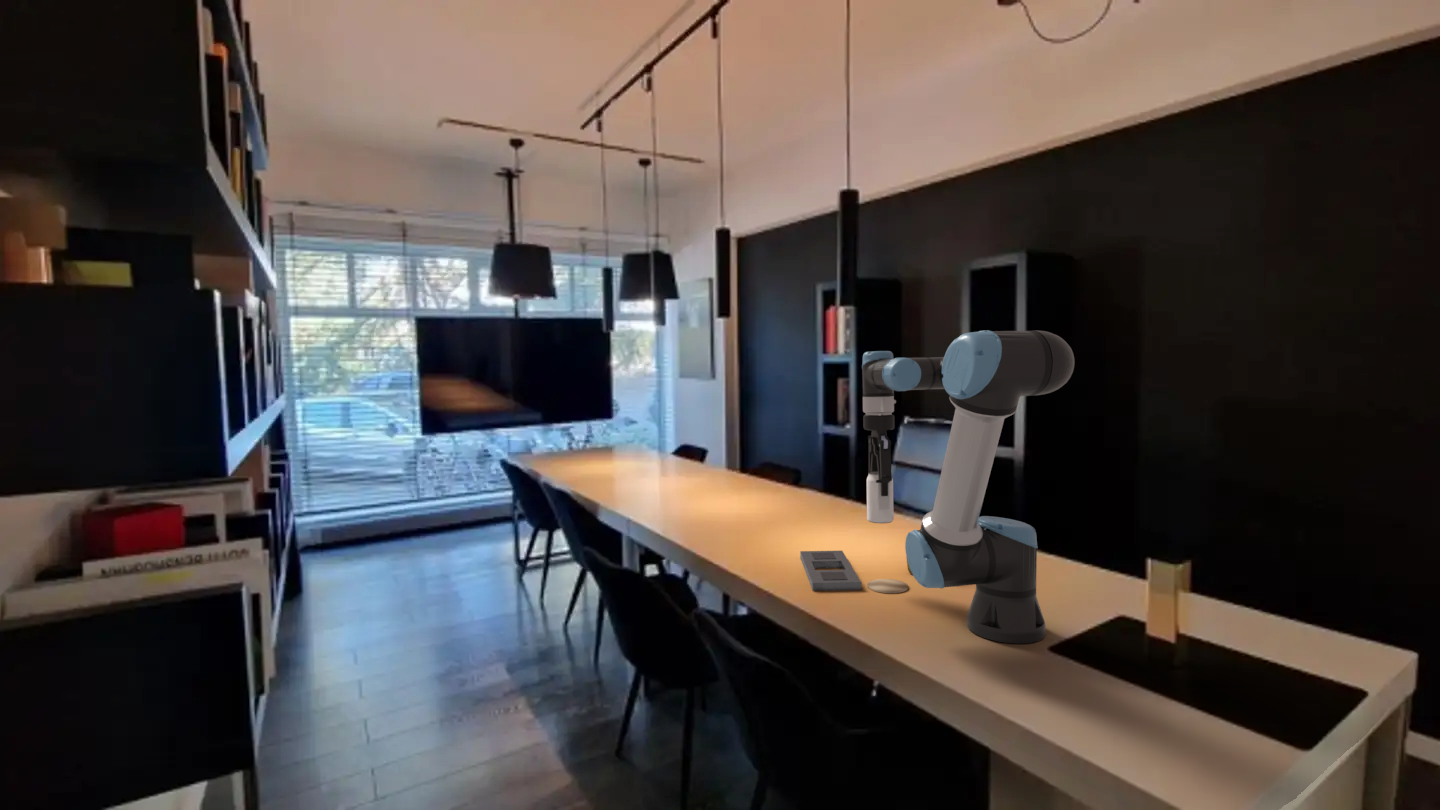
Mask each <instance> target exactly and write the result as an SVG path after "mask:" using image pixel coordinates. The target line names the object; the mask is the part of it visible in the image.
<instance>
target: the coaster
mask: <svg viewBox="0 0 1440 810" xmlns="http://www.w3.org/2000/svg"><path fill="white" fill-rule="evenodd" d="M867 588H868V589H869V590H871V591H873V592H875V593H880V594H887V595H889V594H890V595H891V594H902V593H905V592H908V591H909V589H910V588H909V585H908V584H907V582H904V581H902V580H898V579H892V578H891V579H890V578H876V579H873V580H870V581H868V582H867Z"/></svg>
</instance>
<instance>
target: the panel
mask: <svg viewBox="0 0 1440 810" xmlns="http://www.w3.org/2000/svg"><path fill="white" fill-rule="evenodd" d="M799 552H800V553H799V554H800V555H799V556H800V561H801V564H802V567H803V568H804V571H805V573H806V577H807V579H808V582H809V585H810V588H811V590H812V592H822V591H823V592H824V591H827V592H828V591H831V592H832V591H862V581H861V580H860V577H859V576H858V574H857V572H856V571H855V570H854V567H853V566H852V564H851V562H850V561H849V560H848V558H847V556H846V554H845V553H844V551H843V550H802V551H799ZM816 569H817V570H816ZM818 569H819V570H818ZM821 569H822V570H821ZM825 569H826V570H825Z"/></svg>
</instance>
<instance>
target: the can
mask: <svg viewBox="0 0 1440 810" xmlns="http://www.w3.org/2000/svg"><path fill="white" fill-rule="evenodd" d="M876 480H879V478H878V472H869V473H868V475H867V477H866V519H867V521H868V522H869V523H873V524H889V523H892V522H893V521H894V520H895V518H894V515H895V512H894V508H895V507H894V506H895V505H894V479H893V477H892V481H890V482H889V499H890V509H878V487H877V483H876Z"/></svg>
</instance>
